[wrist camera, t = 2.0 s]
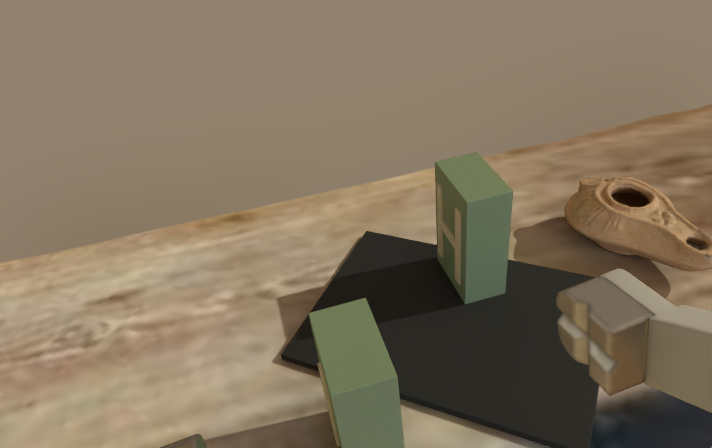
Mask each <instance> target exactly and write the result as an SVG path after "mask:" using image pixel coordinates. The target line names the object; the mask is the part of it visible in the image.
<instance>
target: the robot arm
mask: <svg viewBox="0 0 712 448" xmlns="http://www.w3.org/2000/svg"><path fill="white" fill-rule="evenodd" d="M556 303H557V308H558V309H560V310H561V311H562V312H563V313H562V314H561V316H560V318H559V320H558V322H557V324H558V334H559V336H560V339H561V341H562V344H563V346H564V347H565V349H566V350H567V352H568V353H569V354H570V355H571V357H572V358H573V359H574V360H575V361H577V362H580V363H583V364H586V365H589V375H590V376H591V377H592V378H593V379H594V380H595V381H596V382H597V383H598V385H599V386H600V387H601V388H602V389H603V390H604V391H605V392H606V393H607V394H608V395H609V396H610V395H613V394H615V393H618V392H620V391H623V390H625V389H628V388H630V387H633V386H636V385H638V384H641V383H643V382H645V384H646V385H649V386H651V387H653V388H656V389H658V390H660V391H663V392H665V393H667V394H669V395H672V396H674V397H676V398H679V399H681V400H683V401H686V402H688V403H690V404H693V405H695V406H697V407H700V408H702V409H704V410H707V411H709V412H711V413H712V311H709V310H704V309H700V308H696V307H691V306H687V305H680V306H677V307H676V306H675V305H673V304H672V303H671V302H669V301H668V300H666V299H665V298H663V297H662V296H661V295H659V294H658V293H656V292H655V291H654V290H652V289H651V288H649V287H648V286H647V285H645V284H644V283H642V282H641V281H640V280H638V279H637V278H635V277H634V276H633V275H631V274H630V273H628V272H627V271H626V270H624V269H620V268H617V269H615V270H612V271H610V272H607V273H605V274H602V275H600V276H598V277H595V278H593V279H590V280H588V281H585V282H583V283H580V284H578V285H575V286H573V287H570V288H568V289H565V290H563V291H560V292H558V295H557V297H556ZM160 448H207V445H206V443H205V442H204V440H203V438H202V437H201V435H199V434H196V435H193V436H190V437H188V438H185V439H182V440H179V441H177V442H174V443H171V444H168V445H166V446H163V447H160ZM710 448H712V447H710Z"/></svg>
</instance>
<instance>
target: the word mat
mask: <svg viewBox="0 0 712 448" xmlns="http://www.w3.org/2000/svg"><path fill="white" fill-rule="evenodd" d="M593 278H595V277H591V276H586V275H581V274H576V273H572V272H567V271H562V270H557V269H552V268H547V267H542V266H537V265H532V264H527V263H522V262H517V261H512V260H508V263H507V276H506V289H505V293H504V294H501V295H497V296H493V297H490V298H486V299H483V300H479V301H475V302H472V303H468V304H465V303H464V302H463V300H462V298H461V297H460V295H459V293H458V292H457V290H456V289H455V287H454V285H453V284H452V282H451V280H450V279H449V277H448V275H447V274H446V272H445V271H444V269H443V267H442V266H441V264H440V262H439V261H438V259H437V245H433V244H428V243H423V242H418V241H413V240H408V239H403V238H398V237H393V236H388V235H383V234H379V233H374V232H369V231H366V232H365V234H364V235H363V237H362V238H361V240H360V241H359V243H358V244H357V246H356V247H355V248H354V250H353V251H352V253H351V254H350V256H349V257H348V259H347V260H346V261H345V263H344V264H343V266H342V267H341V269H340V270H339V272H338V273H337V274H336V276H335V277H334V279H333V280H332V282H331V283H330V285H329V286H328V287H327V289H326V290H325V292H324V293H323V295H322V296H321V298H320V299H319V301H318V302H317V303H316V305H315V306H314V308H313V309H312V311H311V312H315V311H318V310H322V309H326V308H329V307H333V306H337V305H341V304H344V303H348V302H352V301H356V300H359V299H363V298H366V300H367V302H368V305H369V307H370V310H371V312H372V315H373V317H374V320H375V322H376V325H377V327H378V330H379V332H380V334H381V337H382V339H383V342H384V344H385V347H386V349H387V352H388V354H389V357H390V359H391V362H392V364H393V367H394V369H395V372H396V374H397V377H398V387H399V397H400V398H402V399H405V400H409V401H412V402H415V403H418V404H421V405H424V406H427V407H430V408H433V409H436V410H439V411H442V412H445V413H448V414H451V415H455V416H458V417H461V418H464V419H467V420H470V421H473V422H476V423H479V424H482V425H485V426H488V427H491V428H494V429H497V430H501V431H504V432H507V433H510V434H513V435H516V436H519V437H522V438H525V439H528V440H531V441H534V442H537V443H540V444H544V445H547V446H550V447H553V448H590V444H591V437H592V430H593V423H594V416H595V409H596V402H597V395H598V389H599V385H598V383H597V382H596V381H595V380H594V379H593V378H592V377H591V376H590V375H589V365H586V364H583V363H580V362H577V361H575V360H574V359H573V358H572V357H571V355H570V354H569V353H568V352H567V350H566V349H565V347H564V346H563V344H562V341H561V339H560V336H559V334H558V324H557V322H558V320H559V318H560V316H561V314H562V313H563V312H562V311H561V310H560V309H558V308H557V303H556V297H557V295H558V292H560V291H563V290H565V289H568V288H570V287H573V286H575V285H578V284H580V283H583V282H585V281H588V280H590V279H593ZM311 312H310V313H311ZM281 356H282V359H283V360H286V361H289V362H292V363H295V364H298V365H301V366H304V367H307V368H310V369H313V370H316V371H319V368H318V364H317V363H319V358H318V354H317V349H316V345H315V341H314V336H313V332H312V328H311V323H310V319H309V315H308V316H307V318H306V319H305V321H304V322H303V324H302V325H301V327H300V328H299V329H298V331H297V332H296V334H295V335H294V337H293V338H292V340H291V341H290V343H289V344H288V345H287V347H286V348H285V350H284V351H283V353H282V354H281Z"/></svg>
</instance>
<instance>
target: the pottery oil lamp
mask: <svg viewBox="0 0 712 448" xmlns="http://www.w3.org/2000/svg"><path fill="white" fill-rule="evenodd" d="M579 184H580V185H579V190H578V192H577V193H575V194H574V195H573V196H572V197H571V198H570V200H569V201H568V202H567V204H566V206H565V209H564V211H565V216H566V219H567V220H568V222H569V224H570V225H571V226H572V227H573V228H574V229H575V230H576V231H577V232H579V233H580V234H582V235H584V236H586V237H588V238H590V239H591V240H593V241H595V242H597V243H598V244H599V245H600V246H601V247H603V248H605V249H607V250H609V251H612V252H615V253H618V254H623V255H638V256H641V257H644V258H647V259H650V260H653V261H657V262H659V263H662V264H665V265H668V266H671V267H674V268H677V269H681V270H685V271H692V272H693V271H702V270H707V269H711V268H712V239H711V238H710V237H709V236H708V235H706V234H705V233H704V232H702V231H701V230H700V229H698V228H696V227H695V226H694V225H693V224H691V223H690V222H689V221H687V220H686V219H685V218H684V217H683V216H681V215H680V214H679V213H678V212H677V211H676V210H675V208H674V206H673V204H672V203H671V201H670V200H669V199H668V198H667V197H666V196H665V195H664V194H663V193H662V192H660V191H659V190H657V189H654V188H653V187H651V186H650V185H648V184H646V183H645V182H643V181H641V180H638V179H635V178H632V177H627V176H624V177H619V178H612V179H611V180H610V179H606V180H603V179H601V178H584V179H582V180H580V181H579Z"/></svg>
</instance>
